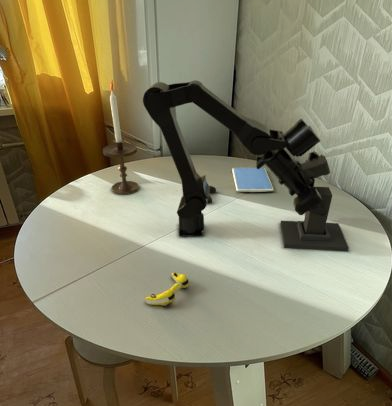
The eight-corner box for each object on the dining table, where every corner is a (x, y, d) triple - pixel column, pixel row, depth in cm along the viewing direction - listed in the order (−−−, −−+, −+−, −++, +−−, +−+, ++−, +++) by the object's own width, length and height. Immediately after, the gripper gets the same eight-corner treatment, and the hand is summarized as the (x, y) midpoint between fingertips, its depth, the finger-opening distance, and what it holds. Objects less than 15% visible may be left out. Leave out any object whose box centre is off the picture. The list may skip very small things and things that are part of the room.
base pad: (284, 247, 92) (285, 239, 90) (280, 223, 102) (281, 215, 100) (347, 251, 90) (350, 242, 89) (337, 226, 100) (339, 218, 99)
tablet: (231, 170, 134) (231, 167, 133) (264, 170, 134) (265, 166, 133) (236, 193, 118) (236, 189, 117) (273, 192, 118) (274, 189, 117)
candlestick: (125, 179, 128) (111, 75, 109) (147, 187, 123) (137, 78, 104) (102, 190, 121) (83, 81, 102) (125, 199, 116) (109, 85, 96)
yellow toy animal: (171, 311, 72) (164, 297, 71) (149, 309, 76) (143, 296, 75) (196, 284, 79) (191, 270, 78) (175, 283, 83) (170, 270, 82)
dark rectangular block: (305, 235, 93) (313, 194, 87) (303, 226, 97) (310, 186, 90) (323, 236, 93) (332, 195, 86) (320, 226, 97) (328, 187, 90)
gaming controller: (213, 202, 111) (200, 189, 109) (201, 212, 114) (188, 199, 112) (218, 189, 119) (205, 176, 117) (206, 198, 122) (194, 186, 120)
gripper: (319, 161, 75) (360, 209, 80) (307, 133, 90) (342, 175, 95) (277, 192, 80) (318, 236, 85) (272, 162, 95) (307, 200, 100)
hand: (322, 209), depth 91 cm, fingers closed on dark rectangular block, 4 cm apart
